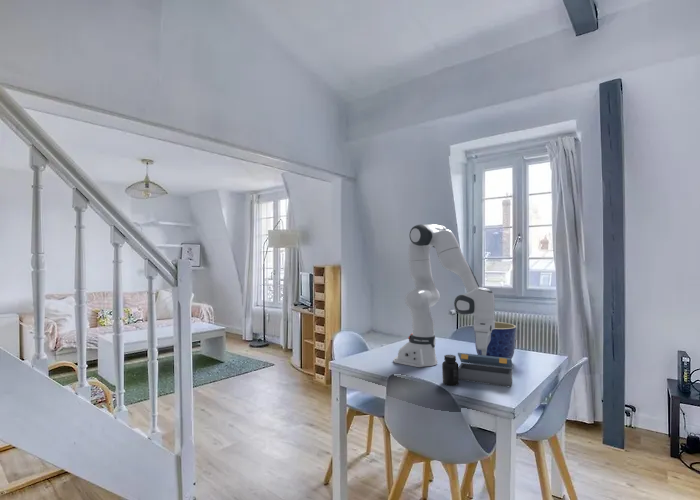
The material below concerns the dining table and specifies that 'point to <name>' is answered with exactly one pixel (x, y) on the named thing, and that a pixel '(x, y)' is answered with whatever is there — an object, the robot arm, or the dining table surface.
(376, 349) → the dining table surface
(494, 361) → the cover
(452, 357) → the supplement bottle
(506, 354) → the planter
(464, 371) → the grey rectangular open box
